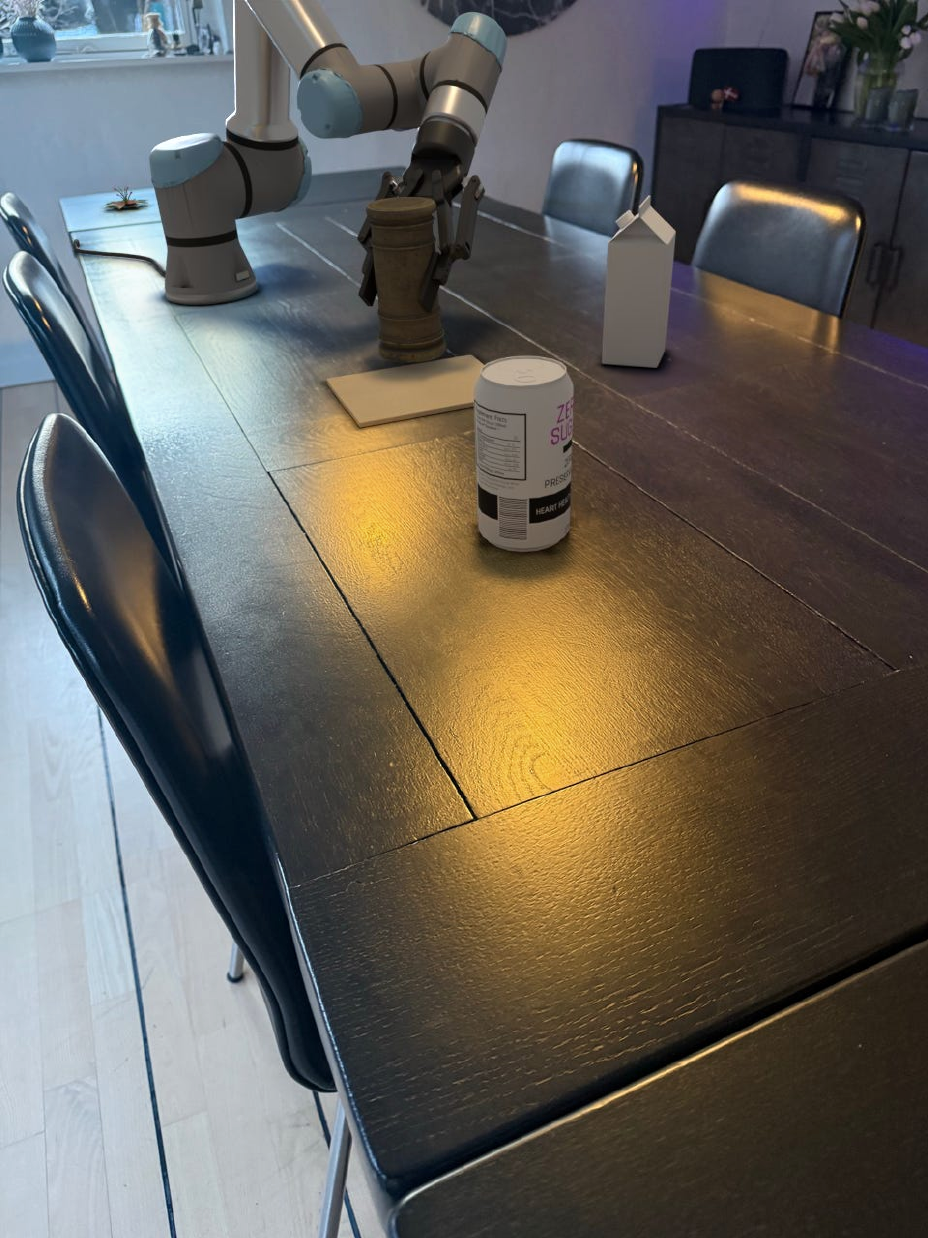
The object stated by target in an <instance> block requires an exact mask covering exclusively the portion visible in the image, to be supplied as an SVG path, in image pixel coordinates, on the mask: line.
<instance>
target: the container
mask: <svg viewBox="0 0 928 1238" xmlns="http://www.w3.org/2000/svg"><path fill="white" fill-rule="evenodd" d="M436 211H437V210H436V204H435V202H434V201H433V200H432V199H428V198H421V197H399V196H397V198H388V199H381V200H377V201H375V200H374V201H371V202H368V203H367V204H366V208H365V214H366V217H367V216H368V217H370V218H371V220H370V221H369V224H370V225H371V228H372V242H371V245H372V247H373V257H374V268H375V277H376V287H377V295H376V298H377V312H376V314H377V317H378V326H379V330H378V332H377V335H376V337H377V339H378V340H379V342H378V343H377V352H378V354H379V356H380V357H381V358H383V359H384V360H387V361H390V362H395V363H423V362H429V361H433V360H435V359H437V358H439V357H441V356H442V355H444V354H445V353H446V349H447V341H446V339H445V338H444V335H445V330H444V328H443V327H442V323H441V322H442V321H441V305H440V303H439V292H438V293H437V296H436V299H435V302H434V305H433V309H432V312H431V313H427V312H425V311H424V309H423V308H422V307H421V305H420V304H419V303H418V301H417V300H418V297H419V293H420V290H421V287H422V284H423V281H424V278H425V275H426V271H427V268H428V265H429V262H430V259H431V256H432V253H433V252H436V241H437V239H436V237H435V233H434V223H435V219H436V218H435V215H433V214H434V213H435V212H436Z"/></svg>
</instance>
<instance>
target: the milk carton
mask: <svg viewBox="0 0 928 1238" xmlns="http://www.w3.org/2000/svg"><path fill="white" fill-rule="evenodd" d="M615 224H616V225H617V227H618V228H619V230H618V231H617V232H615V234H614V235H613V236H612V237H611V238H610V240H609V241H608V242H607V253H606V254H607V255H606V273H605V274H606V275H605V295H604V314H603V315H604V316H603V333H602V334H603V335H602V352H601V353H602V355H601V357H602V358H601V364H603V365H612V366H613V365H615V366H624V367H625V366H626V367H640V368H653V369H655V368H658V367H659V364H660V362H661V360H662V359H663V356H664V354H665V352H666V346H667V334H668V321H669V311H670V301H671V289H672V278H673V267H674V257H675V244H676V233H677V232H676V230H675V229H674V228H673V227H672V226H671V225H670V224H669V223H668V222H667V221H666V220H665V219H664V217H662V216H661V215H660V214H659V213H658V212H657V210H656V209H655V208H653V207H652V205H651V195H647V197H646V198H645V199H644V200H643V202H641V204H640V205H639V206H638V213H637V214H636V215H634V214H633V212H632V210H631V209H628V210H626V212H624V213H623V214H622V215H621V216H620V217H619V218H617V219H616V220H615Z"/></svg>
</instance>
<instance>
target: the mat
mask: <svg viewBox="0 0 928 1238" xmlns="http://www.w3.org/2000/svg"><path fill="white" fill-rule="evenodd" d="M484 365H485V364H484V363H482V362H481V360H479V359H477V357H475V356H474V355H472V354H465V355H459V356H453V357H448V358H441V359H436V360H435V359H434V360H428V361H422V362H416V363H412V364H411V363H410V364H407V365H400V366H394V367H388V368H382V369H376V370H370V371H365V372H359V373H352V374H348V375H342V376H340V375H339V376H335V377H329V378H325V383H326V385H327V386H328V388H329V389H330V390H331V391H332V393H333V394H334V395H335V397H336V398H337V400H338V401H339V402H340V403H341V405H342V406H343V408H344V409H345V410H346V411H347V413H348V414H349V415H350V416H351V418H352V419H353V420H354V422H355V423H356V424H357V426H358V427H359V428H360V429H361V428H366V427H371V426H376V425H377V426H378V425H382V424H383V425H384V424H388V423H392V422H398V421H403V420H409V419H414V418H420V417H425V416H429V415H430V416H431V415H436V414H441V413H446V412H452V411H458V410H462V409H469V408H474V397H473V391H474V386H475V384H476V382H477V380H478V378H479V376H480V372H481V368H482V367H483V366H484Z"/></svg>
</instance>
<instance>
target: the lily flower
mask: <svg viewBox="0 0 928 1238" xmlns="http://www.w3.org/2000/svg"><path fill="white" fill-rule="evenodd" d="M117 188H118V189H119V190H120V191H119V190H118V189H117ZM117 188H115V187H113V190H114V191H116V192H118V193H119V194H118V193H116V197H120V198H121V199H122V200H117V201H110V202H108V203H107V204H104V205H103V206H104V207H103V208H102V210H103V209H114V208H117V209H118V210H120V209H121V208H133V207H134V208H139V206H140V204H148V202H147V201H148V199H136V198H133V199H130V197H131V195H132V194H133V191H131V190H130V192H129V194H128V189H129V186H126V188H124V189H123V190H124V191H122V189H121V188H120V186H118V187H117Z"/></svg>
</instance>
